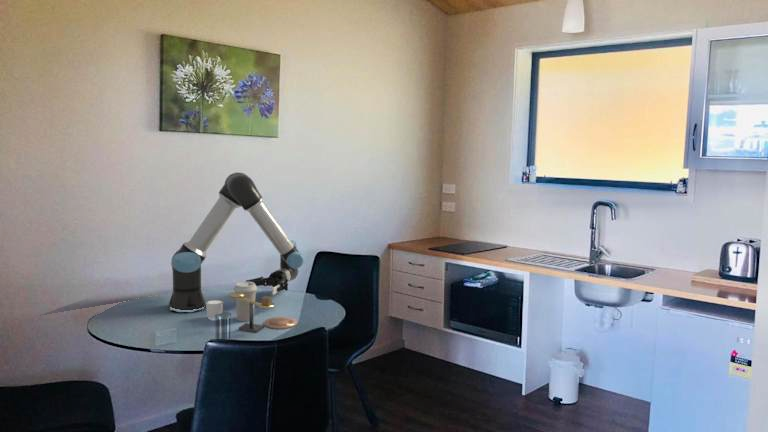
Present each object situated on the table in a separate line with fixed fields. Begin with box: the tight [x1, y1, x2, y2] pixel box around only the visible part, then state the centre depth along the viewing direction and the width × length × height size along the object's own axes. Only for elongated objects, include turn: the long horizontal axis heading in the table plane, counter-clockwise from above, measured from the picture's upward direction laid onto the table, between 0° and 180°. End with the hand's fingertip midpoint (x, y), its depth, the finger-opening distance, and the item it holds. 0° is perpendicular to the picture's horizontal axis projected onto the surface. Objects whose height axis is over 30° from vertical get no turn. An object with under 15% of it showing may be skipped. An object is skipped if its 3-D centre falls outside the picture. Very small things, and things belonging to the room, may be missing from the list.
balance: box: [228, 291, 275, 334], centre depth 245 cm, size 19×6×14 cm, turn 75°
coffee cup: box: [233, 281, 258, 323], centre depth 256 cm, size 10×10×15 cm
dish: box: [264, 316, 298, 330], centre depth 253 cm, size 13×13×1 cm
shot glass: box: [205, 299, 224, 318], centre depth 256 cm, size 7×7×7 cm
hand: (258, 290), depth 266 cm, fingers open, 13 cm apart
